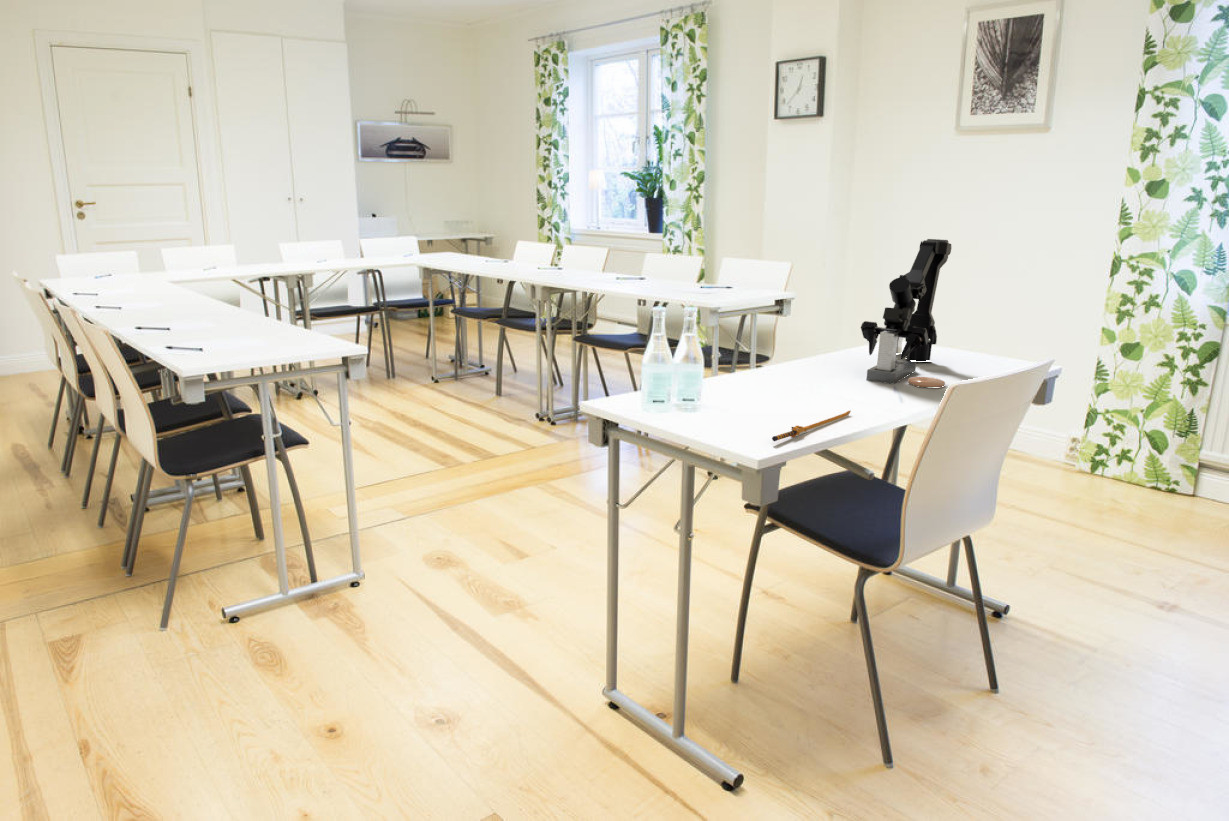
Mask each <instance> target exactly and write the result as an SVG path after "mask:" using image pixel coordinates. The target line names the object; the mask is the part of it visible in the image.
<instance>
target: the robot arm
mask: <svg viewBox="0 0 1229 821" xmlns="http://www.w3.org/2000/svg"><path fill="white" fill-rule="evenodd" d="M951 253H952V244H951V243H949V240H948V239H940V238H939V239H937V238H936V239H935V238H933V239H932V238H927V239H925V240H921V241H920V243H919V249H918V252H917V254H916V256H915V259H914V261H913V263H912V266H911V268H910V269H909V270H910V271H909V272H907V273H905V274H901V275H900V274H899V276H898V277H896V278H894V279H892V280H891V281H890V283H889V284H888V286H889V287H888V288H889V290H890V291H889V292H890V295H891V300H892V302H893V303H894V306H893V307H884V311H883V314H882V319H884V322H883V324H884V326H885V325H886V328H885V327H881V326H880V327H879V326H878V323H877V322H876V321H869V320H868V321H866V320H865V321H863V322H862V323H861V325H860V329H861V334H862V337H863V339H865V340H866V341H867V342H868V354H869V356H872V355H873V352H874V351H875V348H876V345H877V342H878V337H880V332H883V331H893V332H899V333H898V337H901V338H903V339H905V342H906V343H905V345H904V347H903V350H902V354H901V355H900V360H904V359H905V357H906V358H907V359H909V360H916V361H926V360H931V354H932V346H933V345H937V341H938V340H937V339H938V336H937V334H938V333H937V330H936V325H935V323H936V320H935V319H934V316H933V314H932V312H933V311H932V310H933V307H934V306H933V305H934V301H935V296H936V291H937V287H938V282H939V276H940V273H941V272H940V271H941V268H942V267H943V266H944V265H945V264H946V263H947V261H948V259H949V256H950V254H951ZM915 300H917V301H918V302H916V301H915ZM916 303H917V304H916ZM916 305H917V306H916ZM907 359H906V360H907ZM909 360H908V361H909Z"/></svg>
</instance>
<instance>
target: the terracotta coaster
mask: <svg viewBox="0 0 1229 821" xmlns="http://www.w3.org/2000/svg"><path fill="white" fill-rule="evenodd" d="M907 383H909V384H908V385H910V384H911V385H910V386H912V385H914V386H913V387H916V386H919V387H918V388H921V387H942V386H944V385H946V382H945V381H944V380H942V379H938V378H934V377H927V376H915V377H914V376H913V377H909V378H908V379H907ZM944 387H945V386H944Z"/></svg>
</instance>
